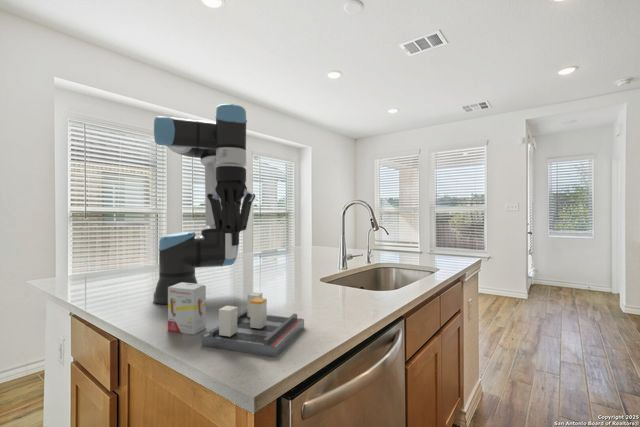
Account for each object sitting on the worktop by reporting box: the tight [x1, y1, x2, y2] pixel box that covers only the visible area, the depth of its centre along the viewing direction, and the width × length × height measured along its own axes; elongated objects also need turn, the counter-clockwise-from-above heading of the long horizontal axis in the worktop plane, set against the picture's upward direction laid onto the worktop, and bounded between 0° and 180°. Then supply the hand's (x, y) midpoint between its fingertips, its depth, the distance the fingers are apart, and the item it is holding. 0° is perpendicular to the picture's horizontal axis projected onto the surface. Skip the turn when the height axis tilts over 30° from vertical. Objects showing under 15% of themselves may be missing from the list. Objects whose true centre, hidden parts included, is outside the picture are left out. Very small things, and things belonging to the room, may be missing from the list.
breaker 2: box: [246, 291, 263, 317], centre depth 87 cm, size 3×3×6 cm
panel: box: [201, 309, 305, 358], centre depth 80 cm, size 19×18×4 cm
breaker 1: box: [218, 305, 238, 337], centre depth 75 cm, size 3×3×6 cm
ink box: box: [167, 282, 207, 335], centre depth 84 cm, size 9×5×12 cm, turn 72°
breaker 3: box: [250, 298, 268, 329], centre depth 80 cm, size 3×3×7 cm
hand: (230, 258), depth 82 cm, fingers closed
